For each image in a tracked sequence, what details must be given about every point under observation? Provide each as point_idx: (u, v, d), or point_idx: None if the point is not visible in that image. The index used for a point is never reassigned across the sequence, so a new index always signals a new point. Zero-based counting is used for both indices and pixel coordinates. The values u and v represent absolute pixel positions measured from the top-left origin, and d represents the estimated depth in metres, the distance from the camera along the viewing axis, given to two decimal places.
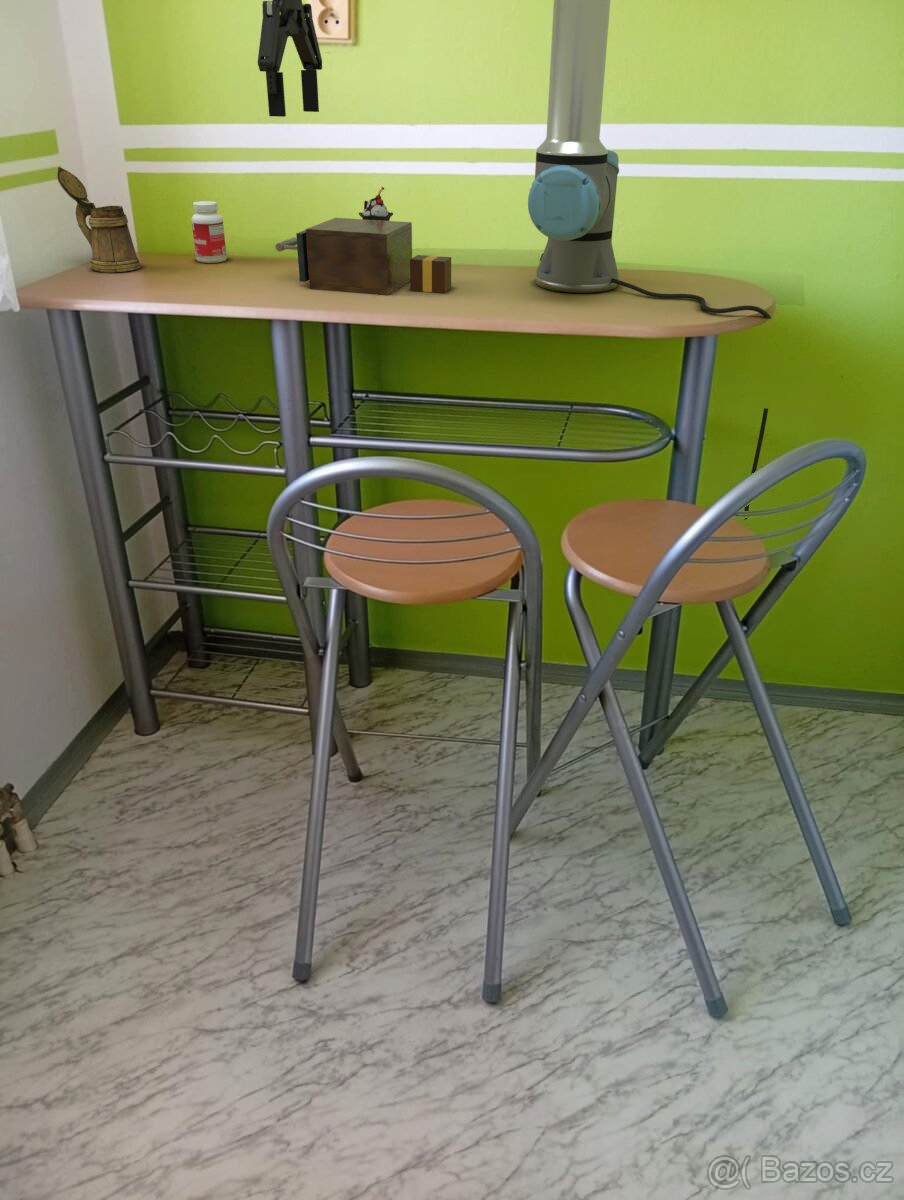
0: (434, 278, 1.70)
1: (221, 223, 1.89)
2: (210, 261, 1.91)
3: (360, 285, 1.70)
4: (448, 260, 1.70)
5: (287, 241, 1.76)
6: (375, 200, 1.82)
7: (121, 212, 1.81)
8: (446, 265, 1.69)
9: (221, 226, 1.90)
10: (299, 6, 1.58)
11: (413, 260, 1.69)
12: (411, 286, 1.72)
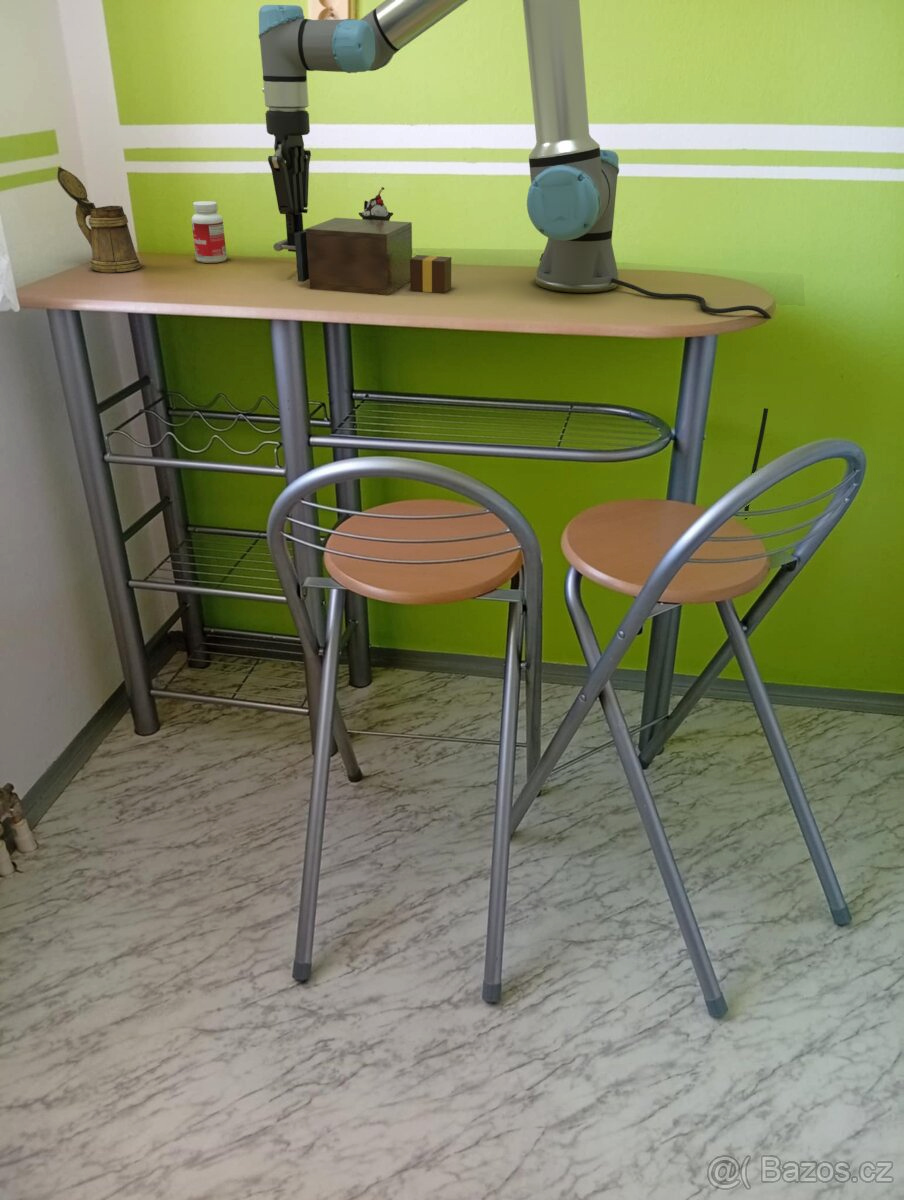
0: (434, 278, 1.70)
1: (221, 223, 1.89)
2: (210, 261, 1.91)
3: (360, 285, 1.70)
4: (448, 260, 1.70)
5: (285, 241, 1.76)
6: (375, 200, 1.82)
7: (121, 212, 1.81)
8: (446, 265, 1.69)
9: (221, 226, 1.90)
10: (300, 142, 1.69)
11: (413, 260, 1.69)
12: (411, 286, 1.72)
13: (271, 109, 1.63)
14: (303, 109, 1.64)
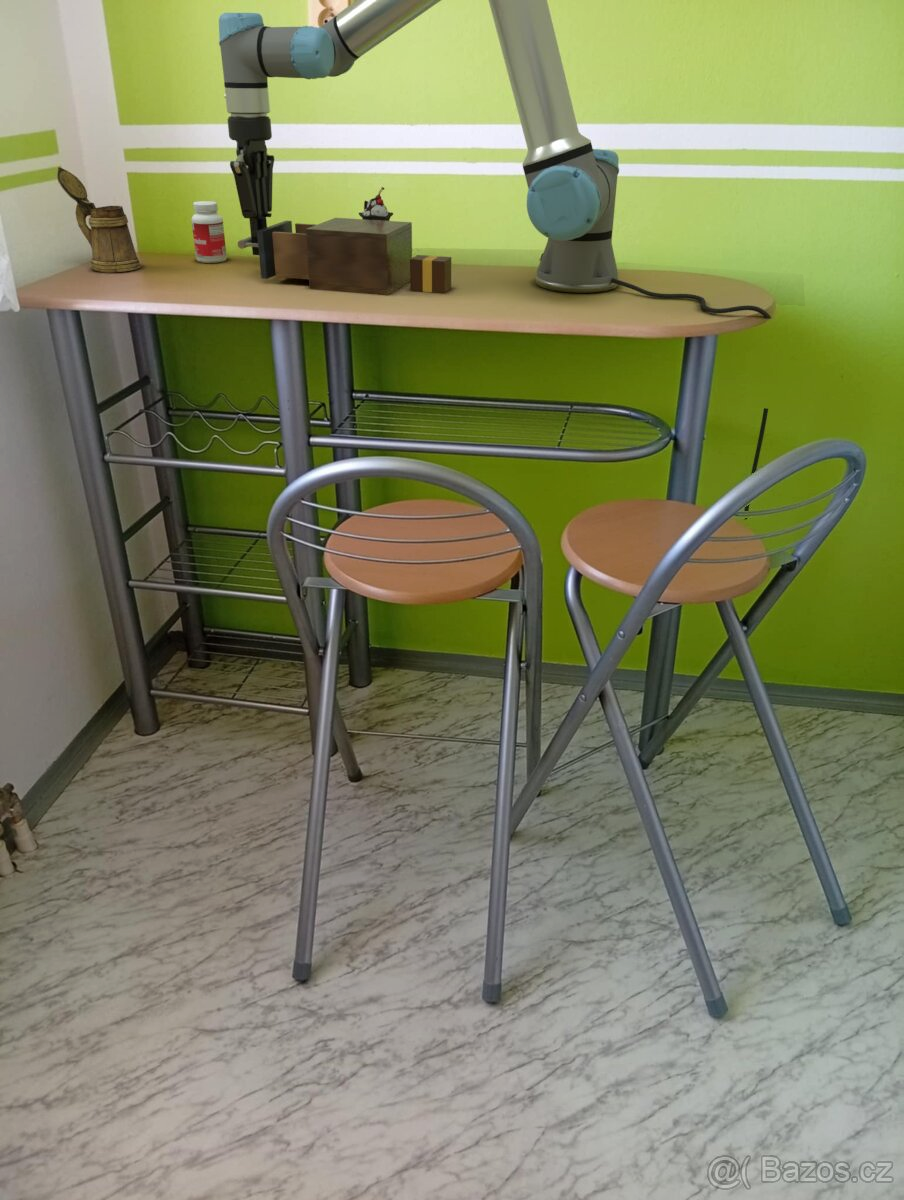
0: (434, 278, 1.70)
1: (221, 223, 1.89)
2: (210, 261, 1.91)
3: (360, 285, 1.70)
4: (448, 260, 1.70)
5: (249, 238, 1.78)
6: (375, 200, 1.82)
7: (121, 212, 1.81)
8: (446, 265, 1.69)
9: (221, 226, 1.90)
10: (263, 147, 1.72)
11: (413, 260, 1.69)
12: (411, 286, 1.72)
13: (233, 115, 1.66)
14: (264, 115, 1.66)
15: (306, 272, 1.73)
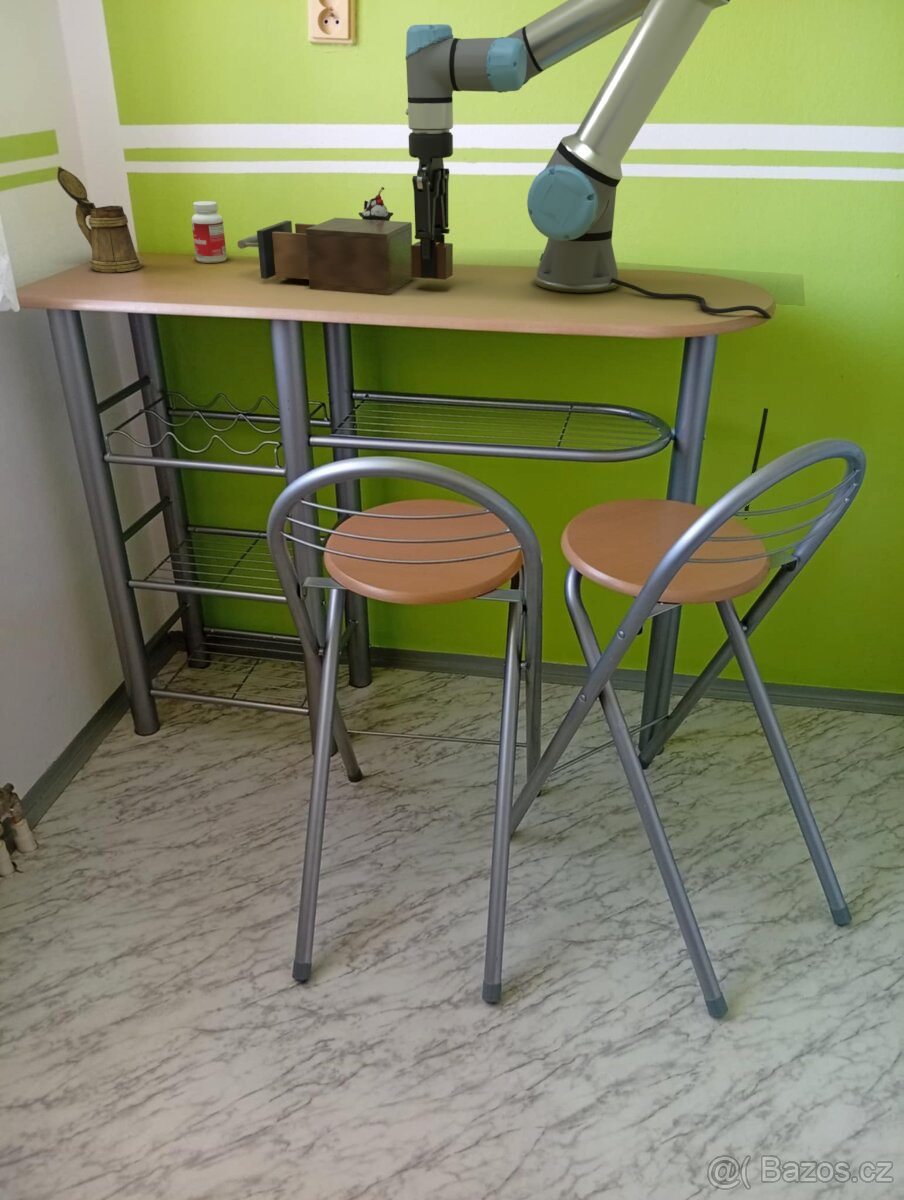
0: None
1: (221, 223, 1.89)
2: (210, 261, 1.91)
3: (360, 285, 1.70)
4: (449, 246, 1.68)
5: (249, 238, 1.78)
6: (375, 200, 1.82)
7: (121, 212, 1.81)
8: (447, 251, 1.68)
9: (221, 226, 1.90)
10: (441, 164, 1.64)
11: (414, 246, 1.68)
12: (412, 273, 1.70)
13: (416, 131, 1.58)
14: (448, 131, 1.59)
15: (306, 272, 1.73)
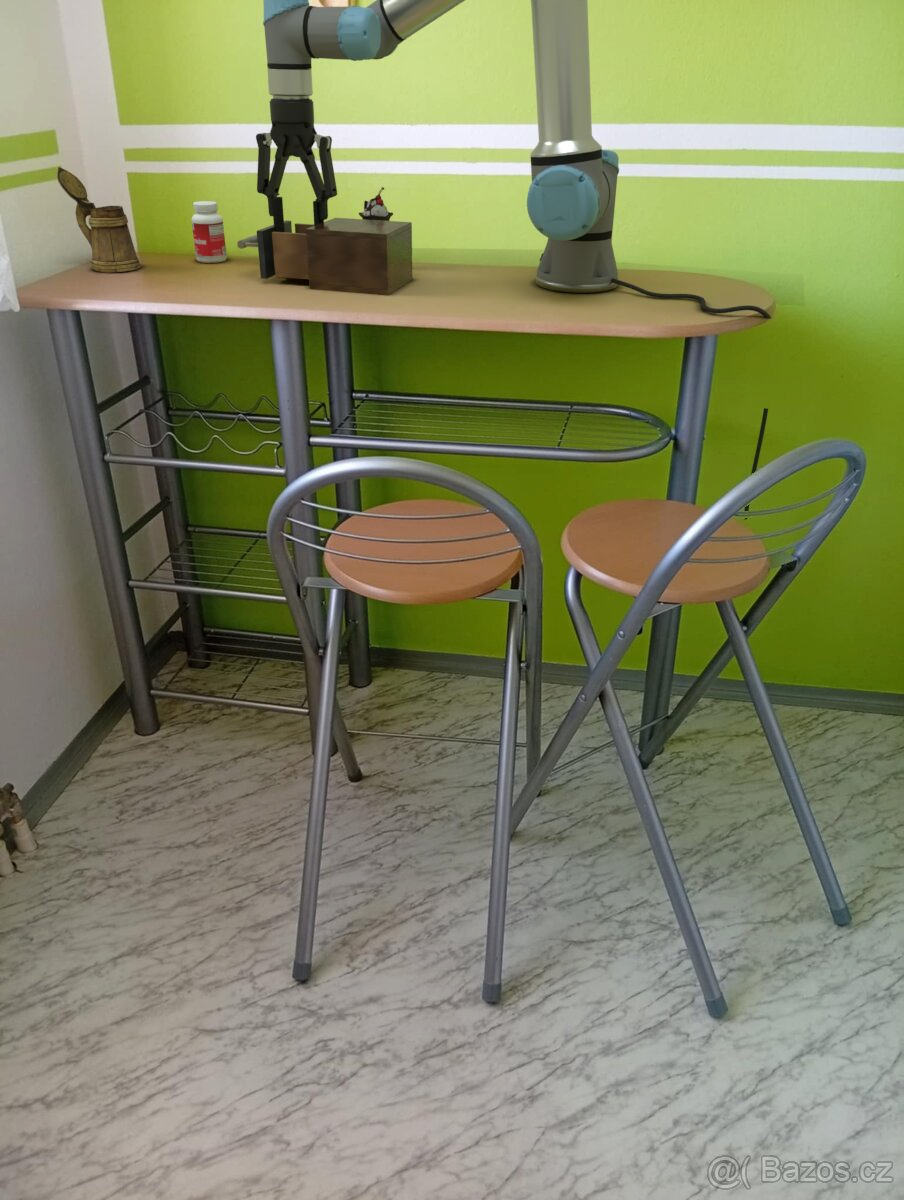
0: None
1: (221, 223, 1.89)
2: (210, 261, 1.91)
3: (360, 285, 1.70)
4: None
5: (249, 238, 1.78)
6: (375, 200, 1.82)
7: (121, 212, 1.81)
8: None
9: (221, 226, 1.90)
10: (302, 132, 1.65)
11: None
12: None
13: None
14: (282, 97, 1.61)
15: (306, 272, 1.73)
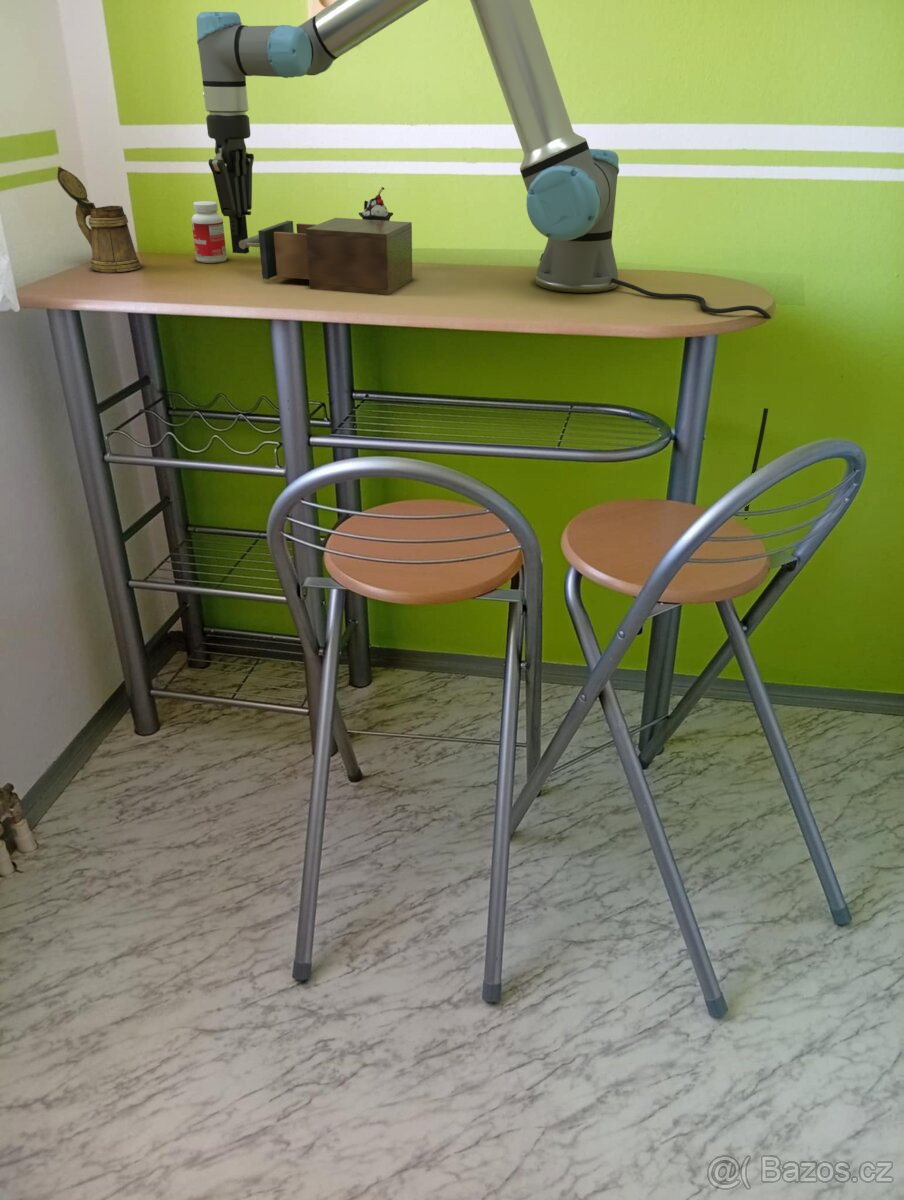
0: None
1: (221, 223, 1.89)
2: (210, 261, 1.91)
3: (360, 285, 1.70)
4: None
5: (251, 239, 1.78)
6: (375, 200, 1.82)
7: (121, 212, 1.81)
8: None
9: (221, 226, 1.90)
10: (242, 145, 1.73)
11: None
12: None
13: (211, 113, 1.67)
14: (243, 113, 1.67)
15: (307, 272, 1.73)
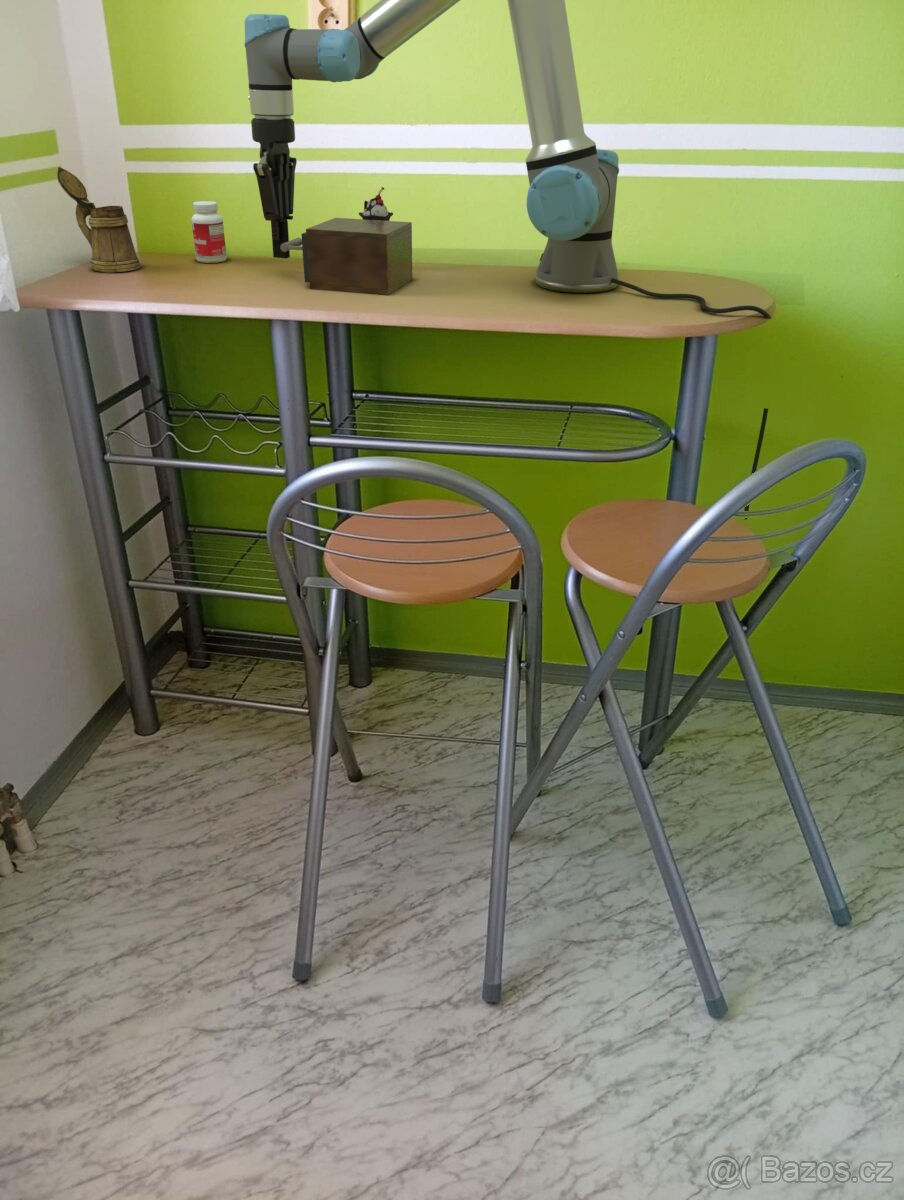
0: None
1: (221, 223, 1.89)
2: (210, 261, 1.91)
3: (360, 285, 1.70)
4: None
5: (292, 241, 1.76)
6: (375, 200, 1.82)
7: (121, 212, 1.81)
8: None
9: (221, 226, 1.90)
10: (286, 149, 1.71)
11: None
12: None
13: (257, 117, 1.65)
14: (288, 117, 1.65)
15: None
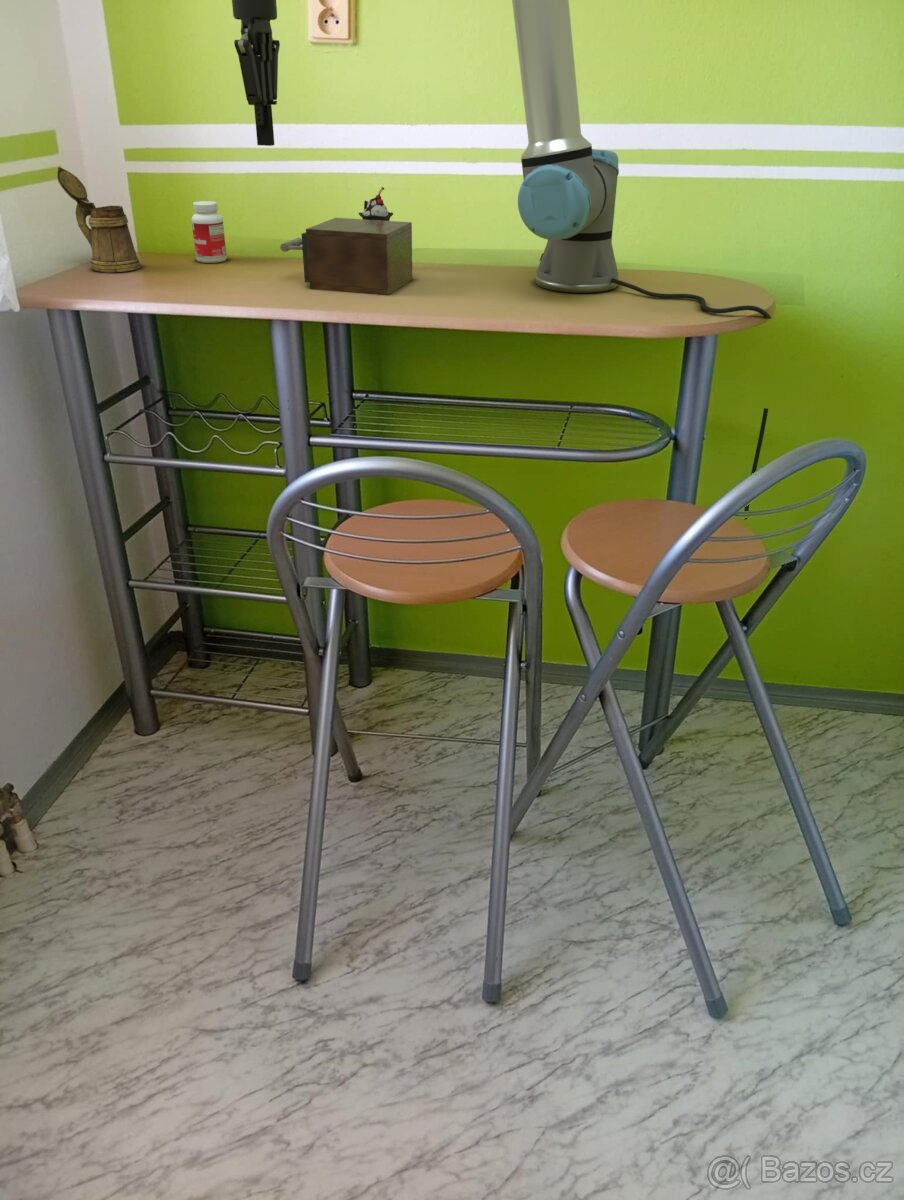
0: None
1: (221, 223, 1.89)
2: (210, 261, 1.91)
3: (360, 285, 1.70)
4: None
5: (292, 241, 1.76)
6: (375, 200, 1.82)
7: (121, 212, 1.81)
8: None
9: (221, 226, 1.90)
10: (268, 29, 1.66)
11: None
12: None
13: None
14: None
15: None
